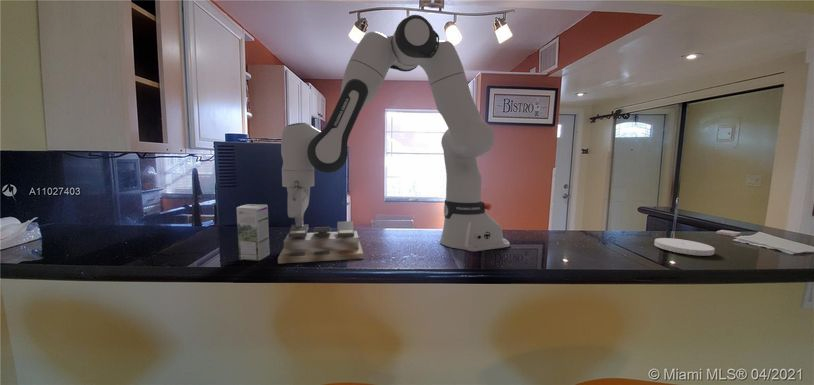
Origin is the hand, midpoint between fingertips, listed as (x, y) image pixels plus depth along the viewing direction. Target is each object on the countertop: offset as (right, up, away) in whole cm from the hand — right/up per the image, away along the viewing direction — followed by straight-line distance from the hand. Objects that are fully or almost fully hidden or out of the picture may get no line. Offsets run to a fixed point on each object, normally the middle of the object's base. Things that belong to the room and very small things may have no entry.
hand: (299, 227), depth 90 cm
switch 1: (+1, -1, -3) cm, 3 cm away
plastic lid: (+119, -9, +6) cm, 119 cm away
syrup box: (-10, -8, -6) cm, 14 cm away
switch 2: (+14, -1, 0) cm, 14 cm away
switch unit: (+8, -8, -2) cm, 11 cm away
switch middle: (+7, -1, -2) cm, 8 cm away
